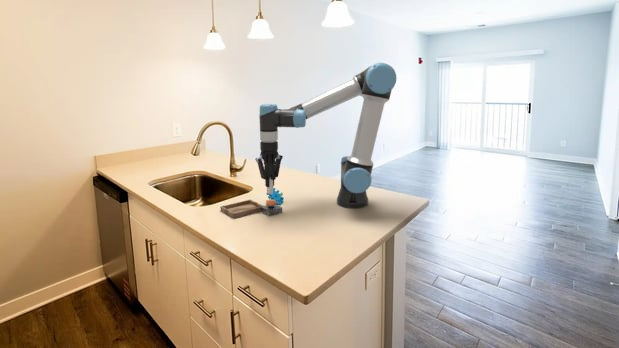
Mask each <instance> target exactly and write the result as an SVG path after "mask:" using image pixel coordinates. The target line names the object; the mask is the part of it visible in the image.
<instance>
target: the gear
mask: <svg viewBox="0 0 619 348" xmlns="http://www.w3.org/2000/svg"><path fill="white" fill-rule="evenodd" d="M275 190H276V191H275ZM279 192H280V190H279V189H276V188H275V187H273V194H271V195H270V194H268V193H267V192H266V195H267V198H268V200H270V199H273V200H276V205H278V206H280V205H283V204H284V202H285V201H284V197H283V195H284V193H283V192H280V193H279Z"/></svg>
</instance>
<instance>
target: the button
mask: <svg viewBox="0 0 619 348" xmlns="http://www.w3.org/2000/svg"><path fill="white" fill-rule="evenodd" d="M266 205H267V206H270V207H273V206H274V205H276V200H273V199H267V200H266V201H265V206H266Z"/></svg>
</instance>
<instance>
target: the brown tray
mask: <svg viewBox="0 0 619 348" xmlns="http://www.w3.org/2000/svg"><path fill="white" fill-rule="evenodd" d="M262 206H264V205H263V204H260V203H258V202H256V201H254V200H253V199H246V200H244V201H239V202H235V203H230V204H226V205H222V206H220V207H219V209H220V212H221V213H223V214H225V215H227V216H228V217H230V218H232V219H233V220H235V219H240V218H243V217H247V216H251V215H255V214H258V213H262V212H261V208H260V207H262Z"/></svg>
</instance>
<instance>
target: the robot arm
mask: <svg viewBox="0 0 619 348" xmlns="http://www.w3.org/2000/svg"><path fill="white" fill-rule="evenodd" d="M396 82H397V73H396V70H395V69H394V67H392V66H391V65H390V64H388V63H386V62H385V63H384V62H377V63H374V64H372V65H370V66H368V67H367V68H366V69H365V70H362V71H361V72H359V73H358V74H356V75H353V78H352V79H351V80H349V81H346V82H344V83H342V84H339V85H338V86H336V87H333V88H331V89H329V90H328V91H324V92H323V93H320V94H318V95H316V96H315V97H312V98H310V99H308V100H305V101H303V102H301V103H298V104H296V105H295V106H292V107H290V108H286V109H280V108H279V107H278V105H277V104H273V103H264V104H261V105H259V115H258V116H259V117H258V118H259V137H260V138H259V139H260V140H259V141H260V142H259V144H260V145H259V147H260V148H259V149H260V154H259V156H258V157H255V161H256V163H257V167H258V170H259V174H260V178H261V179H263V180H265V181H264V183H265V184H264V185H265V187H266V193H268V194H270V195H271V194H273V188H274V186H275V180H276V179H277V178H278V177H279V173H280V168H281V163H282V160H283V158H284V156H283V155H281V154H279V151H278V150H279V142H278V140H279V134H278V133H279V130H278V128H296V129H298V128H305V127H306V125H307V123H306V122H307V120H308V119H310V118H313V117H314V116H317V115H319V114H321V113H323V112H326V111H328V110H330V109H332V108H334V107H337V106H339V105H341V104H343V103H345V102H349V101H351V100H352V99H355V98H356V97H359V96H360V97H362V98H363V102H362V107H361V111H360V116H359V120H358V124H357V127H356V132H355V133H356V134H355V138H354V141H353V146H352V151H351V155H349V156H348V155H346V156H343V157H341V162H340V189H339V191H338V193H337V194H338V195H337V198H336V204H337V205H338V206H340V207H343V208H348V209H360V208H365V207H367V206H368V205H369V197H368V194H367V191H368V190H369V188H370V187H371V184H372V172H373V167H374V162H373V160H372V157H373V153H374V148H375V143H376V140H377V136H378V131H379V129H380V124H381V121H382V115H383V112H384V108H385V104H386V103H388V102H389V100H390V98H391V93H392V90H393V89H394V88H395V85H396ZM366 205H367V206H366ZM364 206H365V207H364Z"/></svg>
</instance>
